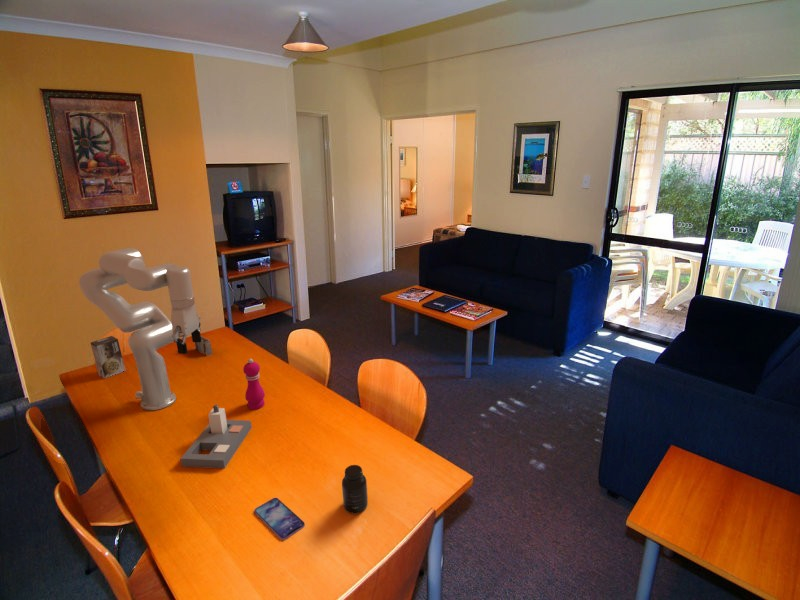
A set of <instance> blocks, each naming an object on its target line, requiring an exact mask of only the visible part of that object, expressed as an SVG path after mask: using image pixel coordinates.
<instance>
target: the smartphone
mask: <svg viewBox="0 0 800 600" xmlns="http://www.w3.org/2000/svg"><path fill="white" fill-rule="evenodd" d="M254 514H255V515H256V516H257V517H258V518H259V519H260V521H262V522H263V523H264V525H266V526H267V528H269V530H270V531H271V532H273V534H275V536H276V537H278V539H280V540H281V541H285V540H288V539H290V538H291V536H293V535H295V534H296V533H298V532H299V531H300V530H302V529H304V528H305V525H306V522H305V521H303V519H302V518H300V517H299V516H298V515H297V514H296V513H295V512H294V511H293V510H292V509H290V508H289V507H288V506H287V505H286V504H285V503H283V501H282V500H280V499H279V498H278V497H273V498H271V499H269V500H268V501H265V502H264V503H262V504H260V505H259V506H257V507H256V508H255V509H254Z"/></svg>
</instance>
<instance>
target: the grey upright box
mask: <svg viewBox="0 0 800 600" xmlns="http://www.w3.org/2000/svg"><path fill="white" fill-rule="evenodd" d="M211 344H212V343H211V340H210V339H208V338H205V337H203V336H202V335H201V342H194V346H195V350H196V351H198V352H199V351H200V352H199V353H201V352H202V353H201V354H203V355H205V354H207V355H208V356H211V355H213V351H212V345H211ZM197 349H198V350H197ZM210 354H211V355H210Z"/></svg>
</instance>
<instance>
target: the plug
mask: <svg viewBox="0 0 800 600" xmlns="http://www.w3.org/2000/svg"><path fill="white" fill-rule="evenodd" d="M212 407H213V408H211V410H210V411H209V413H208V420H209V421H208V422H209V424H210V428H211V434H224V433H225V432H226V431H227V429H228V428H227V421H226V420H227V414H226V410H225V408H224V407H222V408H221V407H219V405H218V404H215V405H213V406H212Z"/></svg>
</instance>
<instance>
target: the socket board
mask: <svg viewBox="0 0 800 600" xmlns="http://www.w3.org/2000/svg"><path fill="white" fill-rule="evenodd" d="M226 421H227V428H228V429H227V431H226V432H225V433H224V434H211V428H210V423H208V424H207V426H206V427H205V428H204V429H203V431H202V432H201V433H200V434H199V436H198V437H197V438H196V439H195V440H194V442H193V443H192V444H191V446H189V448H188V449H187V450H186V451H185V453H184V454H183V455H182V456H181V458H180V462H181V467H187V468H188V467H189V468H208V469H209V468H210V469H211V468H212V469H225V468H226V467H227V466H228V464H229V463H230V461H231V460H232V458H233V457H234V455H235V454H236V452H237V451H238V449H240V448H239V447H240V446H241V445H242V443H243V442H244V440H245V438H246V437H247V435H248V434H249V432H250V431H251V430H252V422H251V420H245V419H244V420H242V419H226ZM201 451H210V452H209V453H208V454H205V453H204V454H201V453H200V452H201Z"/></svg>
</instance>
